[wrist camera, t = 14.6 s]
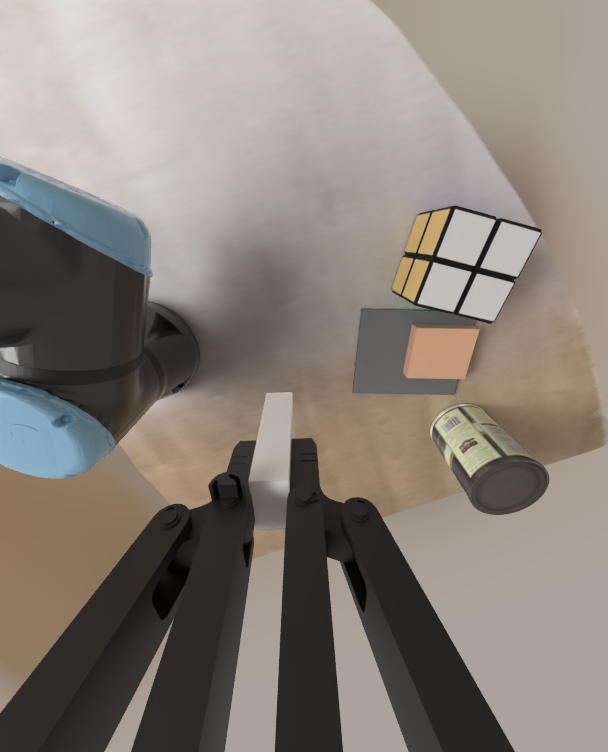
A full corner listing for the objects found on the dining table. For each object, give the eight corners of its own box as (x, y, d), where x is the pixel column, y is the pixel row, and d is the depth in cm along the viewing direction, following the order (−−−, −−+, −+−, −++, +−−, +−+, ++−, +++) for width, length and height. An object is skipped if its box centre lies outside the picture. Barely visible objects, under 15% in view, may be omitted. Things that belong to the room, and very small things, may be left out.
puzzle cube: (488, 231, 37) (546, 229, 28) (454, 306, 41) (495, 325, 32) (416, 212, 36) (453, 204, 27) (389, 290, 41) (413, 305, 32)
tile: (406, 378, 44) (464, 379, 44) (416, 327, 40) (479, 329, 40) (402, 372, 46) (457, 373, 46) (411, 323, 42) (471, 325, 42)
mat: (352, 391, 48) (352, 392, 47) (361, 308, 42) (361, 309, 41) (452, 393, 48) (453, 394, 47) (476, 311, 42) (477, 311, 41)
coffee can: (469, 454, 54) (520, 521, 41) (420, 442, 52) (456, 507, 40) (500, 410, 49) (567, 469, 37) (446, 396, 48) (496, 453, 35)
